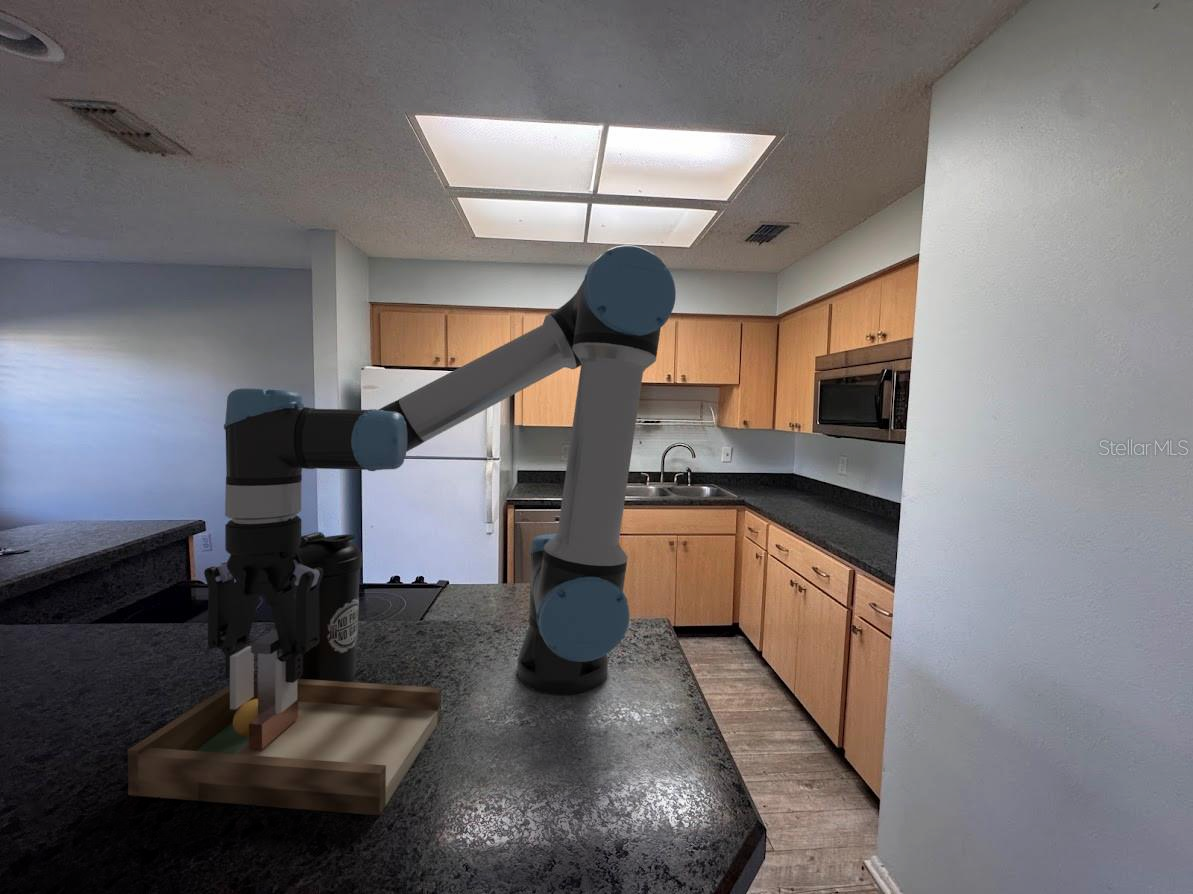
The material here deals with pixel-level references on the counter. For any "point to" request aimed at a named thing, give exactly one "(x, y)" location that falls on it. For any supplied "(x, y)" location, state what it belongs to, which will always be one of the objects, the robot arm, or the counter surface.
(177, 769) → the lane
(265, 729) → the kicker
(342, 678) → the water bottle
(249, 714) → the ball
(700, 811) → the counter surface
